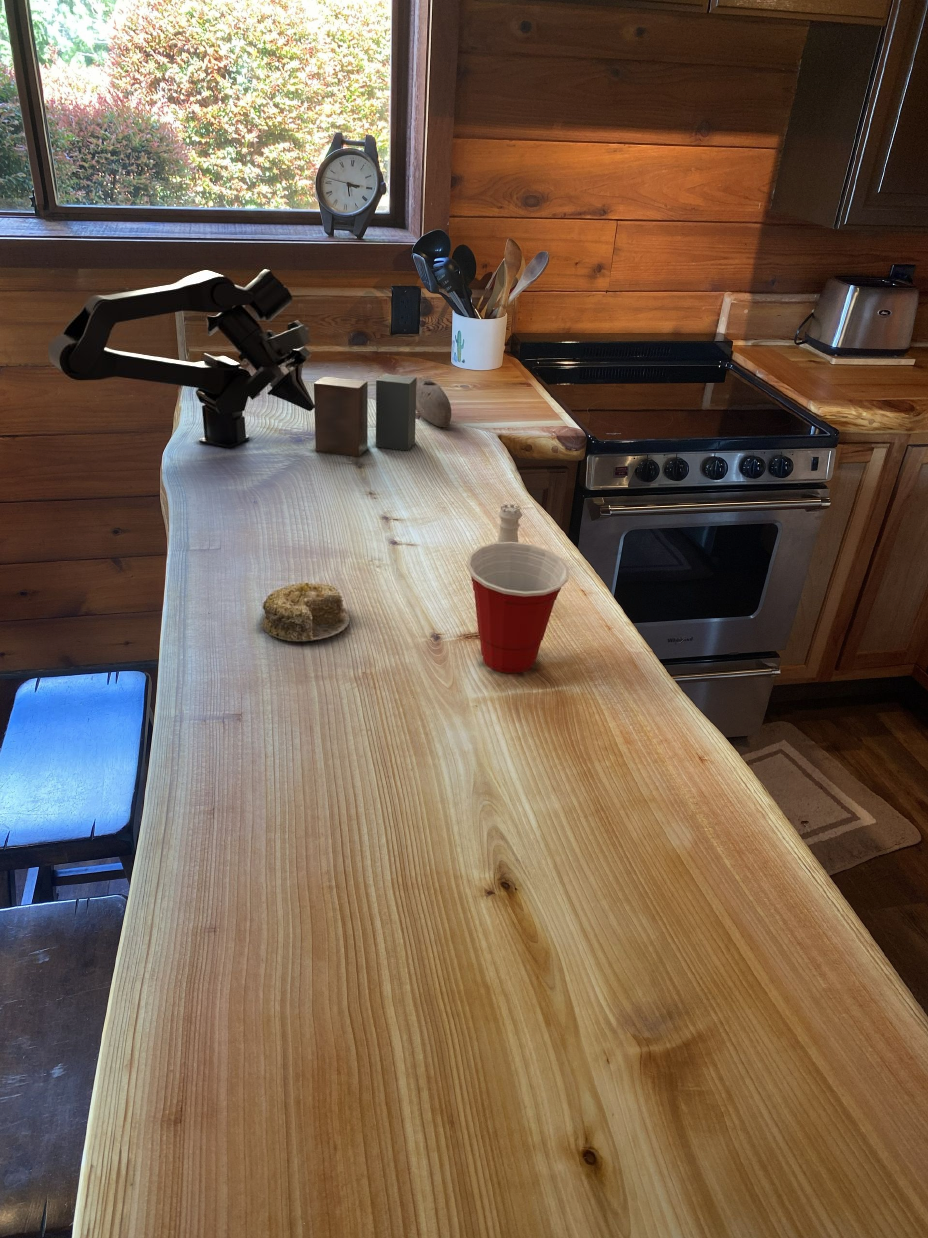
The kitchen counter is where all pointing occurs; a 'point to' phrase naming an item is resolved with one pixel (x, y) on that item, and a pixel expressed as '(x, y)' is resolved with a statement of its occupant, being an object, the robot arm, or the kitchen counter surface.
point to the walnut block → (341, 416)
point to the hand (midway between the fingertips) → (312, 409)
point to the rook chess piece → (509, 523)
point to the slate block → (395, 411)
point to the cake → (304, 612)
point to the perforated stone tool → (432, 403)
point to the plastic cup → (514, 600)
